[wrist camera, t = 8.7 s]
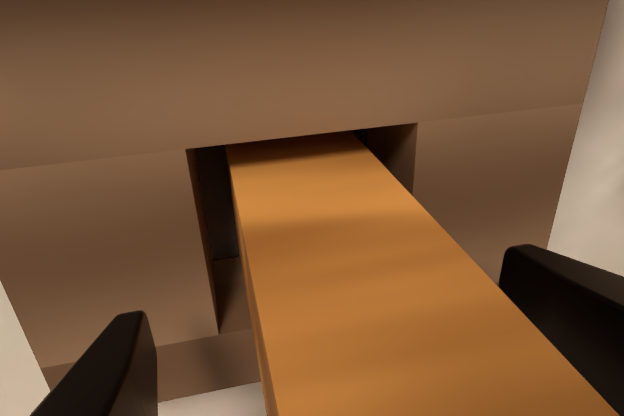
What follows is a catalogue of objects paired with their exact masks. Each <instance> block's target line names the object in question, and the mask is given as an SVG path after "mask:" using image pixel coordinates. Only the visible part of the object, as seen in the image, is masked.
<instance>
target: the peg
mask: <svg viewBox="0 0 624 416" xmlns="http://www.w3.org/2000/svg"><path fill="white" fill-rule="evenodd" d="M225 152H226V159H227V167H228V175H229V183H230V190H231V198H232V206H233V214H234V221H235V229H236V236H237V242H238V248H239V254H240V260H241V266H242V271H243V277H244V283H245V289H246V295H247V301H248V306H249V312H250V318H251V324H252V330H253V336H254V341H255V347H256V353H257V359H258V365H259V371H260V377H261V382H262V388H263V394H264V400H265V406H266V412H267V416H619V414H618V413H617V412H616V411H615V410H614V409H613V408H612V407H611V406H610V405H609V404H608V403H607V402H606V401H605V400H604V399H603V398H602V396H601V395H600V394H599V393H598V392H597V391H596V390H595V389H594V388H593V387H592V386H591V385H590V384H589V383H588V382H587V381H586V380H585V378H584V377H583V376H582V375H581V374H580V373H579V372H578V371H577V370H576V369H575V368H574V367H573V366H572V365H571V364H570V363H569V361H568V360H567V359H566V358H565V357H564V356H563V355H562V354H561V353H560V352H559V351H558V350H557V349H556V348H555V347H554V346H553V345H552V343H551V342H550V341H549V340H548V339H547V338H546V337H545V336H544V335H543V334H542V333H541V332H540V331H539V330H538V329H537V328H536V326H535V325H534V324H533V323H532V322H531V321H530V320H529V319H528V318H527V317H526V316H525V315H524V314H523V313H522V312H521V311H520V310H519V308H518V307H517V306H516V305H515V304H514V303H513V302H512V301H511V300H510V299H509V298H508V297H507V296H506V295H505V294H504V293H503V291H502V290H501V289H500V288H499V287H498V286H497V285H496V284H495V283H494V282H493V281H492V280H491V279H490V278H489V277H488V276H487V275H486V273H485V272H484V271H483V270H482V269H481V268H480V267H479V266H478V265H477V264H476V263H475V262H474V261H473V260H472V259H471V258H470V257H469V255H468V254H467V253H466V252H465V251H464V250H463V249H462V248H461V247H460V246H459V245H458V244H457V243H456V242H455V241H454V240H453V238H452V237H451V236H450V235H449V234H448V233H447V232H446V231H445V230H444V229H443V228H442V227H441V226H440V225H439V224H438V223H437V222H436V220H435V219H434V218H433V217H432V216H431V215H430V214H429V213H428V212H427V211H426V210H425V209H424V208H423V207H422V206H421V205H420V203H419V202H418V201H417V200H416V199H415V198H414V197H413V196H412V195H411V194H410V193H409V192H408V191H407V190H406V189H405V188H404V187H403V185H402V184H401V183H400V182H399V181H398V180H397V179H396V178H395V177H394V176H393V175H392V174H391V173H390V172H389V171H388V170H387V168H386V167H385V166H384V165H383V164H382V163H381V162H380V161H379V160H378V159H377V158H376V157H375V156H374V155H373V154H372V153H371V152H370V150H369V149H368V148H367V147H366V146H365V145H364V144H363V143H362V142H361V141H360V140H359V139H358V138H357V137H356V136H355V135H354V133H353V132H352V131H351V130H347V131H339V132H330V133H321V134H312V135H304V136H295V137H286V138H277V139H269V140H260V141H251V142H243V143H234V144H225Z"/></svg>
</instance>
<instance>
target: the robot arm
mask: <svg viewBox="0 0 624 416" xmlns="http://www.w3.org/2000/svg"><path fill="white" fill-rule="evenodd" d="M499 288H500V289H501V290H502V291H503V293H504V294H505V295H506V296H507V297H508V298H509V299H510V300H511V301H512V302H513V303H514V304H515V305H516V306H517V307H518V308H519V310H520V311H521V312H522V313H523V314H524V315H525V316H526V317H527V318H528V319H529V320H530V321H531V322H532V323H533V324H534V325H535V326H536V328H537V329H538V330H539V331H540V332H541V333H542V334H543V335H544V336H545V337H546V338H547V339H548V340H549V341H550V342H551V343H552V345H553V346H554V347H555V348H556V349H557V350H558V351H559V352H560V353H561V354H562V355H563V356H564V357H565V358H566V359H567V360H568V361H569V363H570V364H571V365H572V366H573V367H574V368H575V369H576V370H577V371H578V372H579V373H580V374H581V375H582V376H583V377H584V378H585V380H586V381H587V382H588V383H589V384H590V385H591V386H592V387H593V388H594V389H595V390H596V391H597V392H598V393H599V394H600V395H601V396H602V398H603V399H604V400H605V401H606V402H607V403H608V404H609V405H610V406H611V407H612V408H613V409H614V410H615V411H616V412H617V413H618V414H619V416H624V277H623V276H620V275H617V274H614V273H611V272H608V271H606V270H603V269H600V268H597V267H594V266H591V265H589V264H586V263H583V262H580V261H577V260H574V259H572V258H569V257H566V256H563V255H560V254H557V253H555V252H552V251H549V250H546V249H543V248H540V247H538V246H535V245H532V244H522V245H516V246H511V247H509V248H507V249H506V251H505V253H504V257H503V262H502V267H501V272H500V277H499ZM30 416H158V386H157V352H156V347H155V343H154V339H153V336H152V332H151V328H150V325H149V321H148V317H147V315H146V313H145V312H144V311H142V310H138V311H132V312H127V313H121V314H118V315H117V316H116V317H114V319H113V320H112V321H111V322H110V323H109V324H108V326H107V327H106V328H105V329H104V330H103V331H102V332H101V334H100V335H99V336H98V337H97V338H96V339H95V341H94V342H93V343H92V344H91V345H90V346H89V348H88V349H87V350H86V351H85V352H84V353H83V354H82V356H81V357H80V358H79V359H78V360H77V361H76V363H75V364H74V365H73V366H72V367H71V368H70V370H69V371H68V372H67V373H66V374H65V375H64V376H63V378H62V379H61V380H60V381H59V382H58V383H57V385H56V386H55V387H54V388H53V389H52V390H51V391H50V393H49V394H48V395H47V396H46V397H45V398H44V400H43V401H42V402H41V403H40V404H39V405H38V407H37V408H36V409H35V410H34V411H33V412H32V413H31V415H30Z"/></svg>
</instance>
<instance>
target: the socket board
mask: <svg viewBox="0 0 624 416" xmlns="http://www.w3.org/2000/svg"><path fill="white" fill-rule="evenodd" d="M608 1H609V0H0V280H1V283H2V285H3V287H4V289H5V291H6V294H7V296H8V298H9V300H10V302H11V305H12V307H13V309H14V311H15V313H16V316H17V318H18V320H19V322H20V325H21V327H22V329H23V331H24V333H25V336H26V338H27V340H28V342H29V344H30V347H31V349H32V351H33V353H34V355H35V358H36V360H37V362H38V364H39V366H40V369H41V371H42V373H43V375H44V377H45V380H46V382H47V384H48V386H49V389H50V391H51V390H52V389H53V388H54V387H55V386H56V385H57V383H58V382H59V381H60V380H61V379H62V378H63V376H64V375H65V374H66V373H67V372H68V371H69V370H70V368H71V367H72V366H73V365H74V364H75V363H76V361H77V360H78V359H79V358H80V357H81V356H82V354H83V353H84V352H85V351H86V350H87V349H88V348H89V346H90V345H91V344H92V343H93V342H94V341H95V339H96V338H97V337H98V336H99V335H100V334H101V332H102V331H103V330H104V329H105V328H106V327H107V326H108V324H109V323H110V322H111V321H112V320H113V319H114V317H116V316H117V315H118V314H121V313H127V312H132V311H138V310H142V311H144V312H145V313H146V315H147V317H148V321H149V325H150V328H151V332H152V336H153V339H154V343H155V347H156V352H157V386H158V402H163V401H168V400H173V399H177V398H182V397H187V396H192V395H197V394H201V393H206V392H211V391H216V390H221V389H225V388H230V387H235V386H240V385H244V384H249V383H254V382H259V381H261V377H260V371H259V365H258V359H257V353H256V347H255V341H254V336H253V330H252V324H251V318H250V312H249V306H248V301H247V295H246V289H245V283H244V277H243V271H242V266H241V260H240V257H234V258H228V259H221V260H215V261H213V256H212V251H211V245H210V239H209V233H208V227H207V221H206V215H205V210H204V204H203V198H202V192H201V186H200V180H199V175H198V169H197V163H196V157H195V151H194V148H199V147H208V146H216V145H225V144H234V143H243V142H251V141H260V140H269V139H277V138H286V137H295V136H304V135H312V134H321V133H330V132H339V131H347V130H356V129H365V128H367V148H368V149H369V150H370V152H371V153H372V154H373V155H374V156H375V157H376V158H377V159H378V160H379V161H380V162H381V163H382V164H383V165H384V166H385V167H386V168H387V170H388V171H389V172H390V173H391V174H392V175H393V176H394V177H395V178H396V179H397V180H398V181H399V182H400V183H401V184H402V185H403V187H404V188H405V189H406V190H407V191H408V192H409V193H410V194H411V195H412V196H413V197H414V198H415V199H416V200H417V201H418V202H419V203H420V205H421V206H422V207H423V208H424V209H425V210H426V211H427V212H428V213H429V214H430V215H431V216H432V217H433V218H434V219H435V220H436V222H437V223H438V224H439V225H440V226H441V227H442V228H443V229H444V230H445V231H446V232H447V233H448V234H449V235H450V236H451V237H452V238H453V240H454V241H455V242H456V243H457V244H458V245H459V246H460V247H461V248H462V249H463V250H464V251H465V252H466V253H467V254H468V255H469V257H470V258H471V259H472V260H473V261H474V262H475V263H476V264H477V265H478V266H479V267H480V268H481V269H482V270H483V271H484V272H485V273H486V275H487V276H488V277H489V278H490V279H491V280H492V281H493V282H494V283H495V284H496V285H497V286H498V287H499V277H500V272H501V267H502V262H503V257H504V253H505V251H506V249H507V248H509V247H511V246H516V245H522V244H532V245H535V246H538V247H540V248H543V249H547V245H548V241H549V237H550V233H551V229H552V225H553V221H554V217H555V213H556V209H557V205H558V201H559V197H560V193H561V189H562V185H563V181H564V177H565V173H566V169H567V165H568V161H569V157H570V153H571V149H572V145H573V141H574V137H575V133H576V129H577V125H578V121H579V117H580V113H581V109H582V105H583V101H584V97H585V93H586V89H587V85H588V81H589V77H590V73H591V69H592V65H593V61H594V57H595V53H596V49H597V45H598V41H599V37H600V33H601V29H602V25H603V21H604V17H605V13H606V9H607V5H608Z"/></svg>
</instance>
